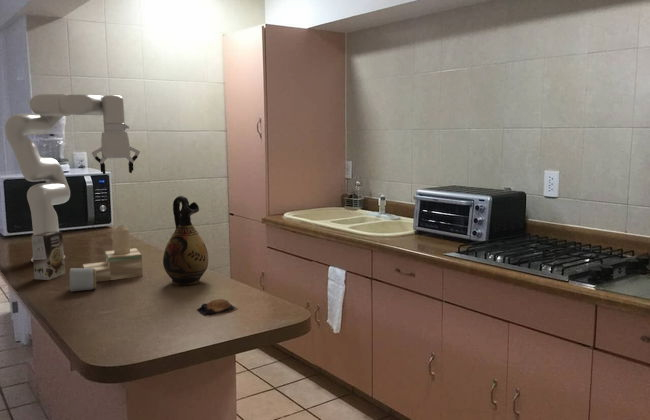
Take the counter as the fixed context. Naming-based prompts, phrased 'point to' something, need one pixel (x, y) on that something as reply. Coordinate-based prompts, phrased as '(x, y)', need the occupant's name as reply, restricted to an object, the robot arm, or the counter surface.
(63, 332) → the counter surface
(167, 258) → the painted pottery vase
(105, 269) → the step stand
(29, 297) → the counter surface
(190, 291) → the counter surface
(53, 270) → the coffee box
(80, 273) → the ceramic mug
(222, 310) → the turtle figurine
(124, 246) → the candle
